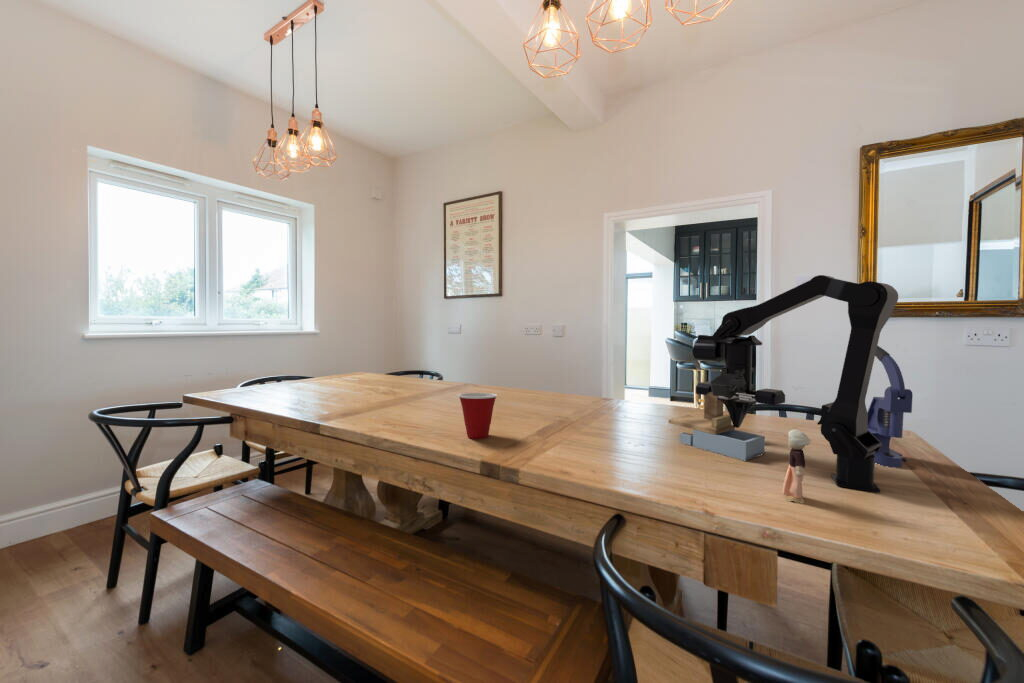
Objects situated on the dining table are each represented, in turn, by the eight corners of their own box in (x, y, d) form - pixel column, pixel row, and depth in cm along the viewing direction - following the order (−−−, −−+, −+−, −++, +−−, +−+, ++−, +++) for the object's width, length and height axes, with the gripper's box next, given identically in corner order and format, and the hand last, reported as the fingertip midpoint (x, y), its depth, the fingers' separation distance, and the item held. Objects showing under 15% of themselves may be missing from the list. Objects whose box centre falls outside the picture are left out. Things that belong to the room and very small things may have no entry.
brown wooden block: (722, 436, 112) (724, 388, 111) (715, 438, 110) (717, 389, 109) (710, 433, 115) (711, 386, 114) (703, 435, 113) (704, 387, 112)
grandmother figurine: (776, 489, 77) (779, 423, 76) (800, 492, 75) (803, 425, 75) (787, 506, 70) (790, 434, 69) (814, 510, 68) (817, 437, 68)
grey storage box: (764, 454, 97) (764, 436, 97) (745, 461, 92) (745, 442, 92) (698, 437, 111) (699, 421, 111) (679, 442, 106) (679, 426, 106)
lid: (734, 429, 103) (735, 415, 103) (715, 434, 98) (715, 420, 98) (688, 418, 114) (688, 406, 114) (668, 423, 109) (668, 410, 108)
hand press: (923, 472, 86) (930, 341, 85) (873, 468, 88) (880, 340, 87) (871, 445, 104) (876, 337, 103) (831, 442, 106) (836, 337, 105)
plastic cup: (497, 430, 117) (497, 389, 116) (496, 442, 106) (496, 397, 106) (460, 430, 117) (460, 389, 116) (455, 442, 106) (455, 397, 106)
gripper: (683, 362, 101) (682, 424, 101) (763, 369, 85) (761, 442, 86) (708, 360, 107) (707, 418, 108) (787, 366, 91) (785, 434, 92)
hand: (736, 427), depth 98 cm, fingers closed
